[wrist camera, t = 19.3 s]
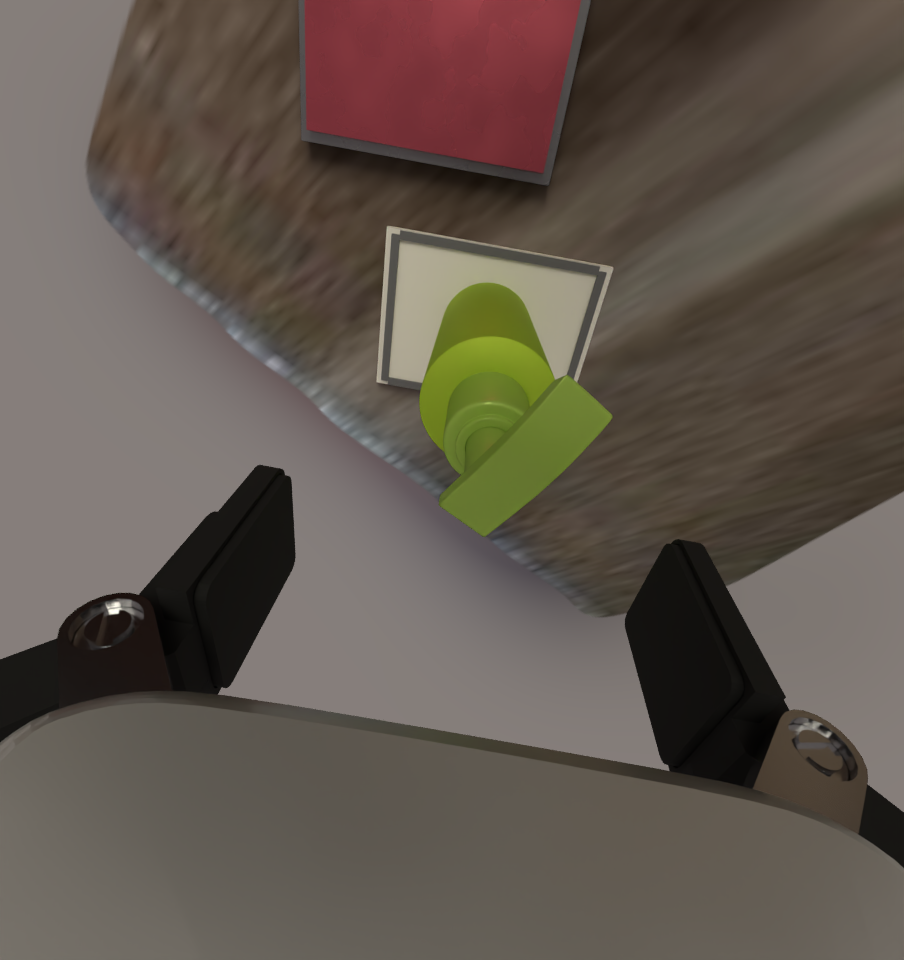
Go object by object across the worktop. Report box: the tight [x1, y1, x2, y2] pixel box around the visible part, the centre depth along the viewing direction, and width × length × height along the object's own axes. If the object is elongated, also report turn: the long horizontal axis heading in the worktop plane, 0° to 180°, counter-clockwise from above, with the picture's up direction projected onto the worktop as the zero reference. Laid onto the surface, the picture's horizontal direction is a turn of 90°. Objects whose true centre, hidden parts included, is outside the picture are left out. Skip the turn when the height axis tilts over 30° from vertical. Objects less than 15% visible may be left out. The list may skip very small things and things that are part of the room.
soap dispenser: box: [419, 283, 613, 537], centre depth 22 cm, size 6×7×20 cm
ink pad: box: [299, 0, 591, 186], centre depth 24 cm, size 9×14×2 cm, turn 81°
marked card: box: [377, 226, 613, 390], centre depth 31 cm, size 10×14×1 cm
